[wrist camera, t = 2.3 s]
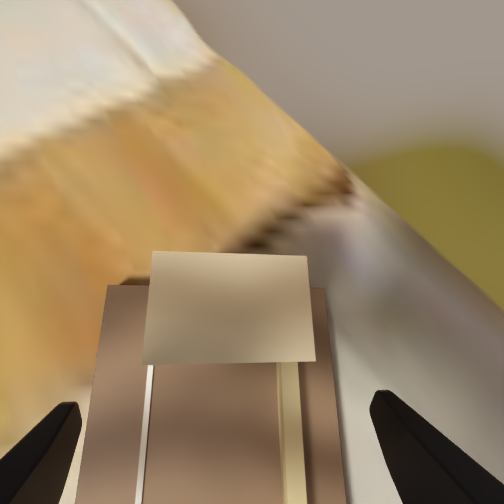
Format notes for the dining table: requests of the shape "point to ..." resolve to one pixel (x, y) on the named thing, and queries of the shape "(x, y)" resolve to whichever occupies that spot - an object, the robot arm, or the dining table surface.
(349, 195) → the dining table surface
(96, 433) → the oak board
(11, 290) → the dining table surface
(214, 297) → the cream rectangular block
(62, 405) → the robot arm
